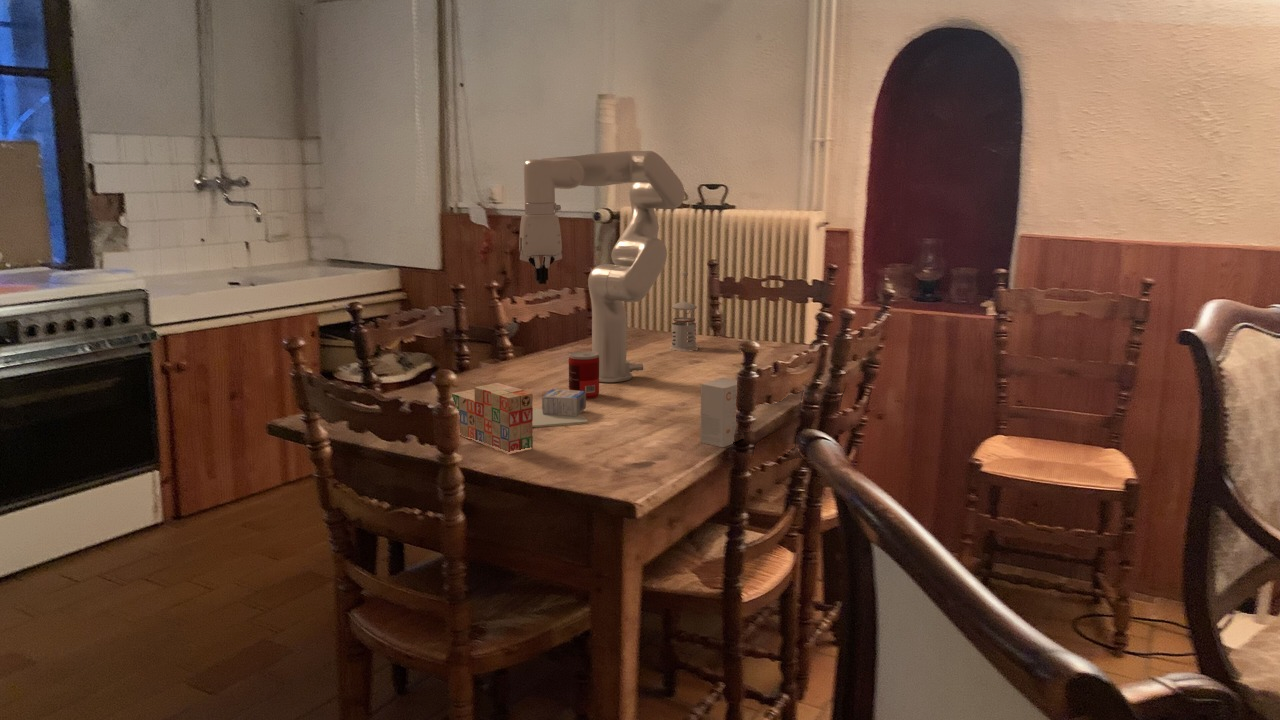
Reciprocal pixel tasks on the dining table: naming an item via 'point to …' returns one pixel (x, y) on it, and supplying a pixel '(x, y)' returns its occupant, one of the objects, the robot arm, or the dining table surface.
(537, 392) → the dining table surface
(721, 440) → the small box
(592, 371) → the canned food
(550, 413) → the medicine box
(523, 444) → the stack of blocks
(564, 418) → the mat
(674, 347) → the grey lantern
